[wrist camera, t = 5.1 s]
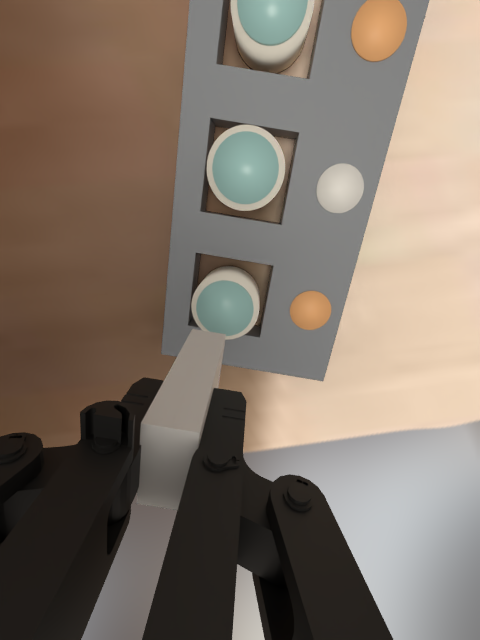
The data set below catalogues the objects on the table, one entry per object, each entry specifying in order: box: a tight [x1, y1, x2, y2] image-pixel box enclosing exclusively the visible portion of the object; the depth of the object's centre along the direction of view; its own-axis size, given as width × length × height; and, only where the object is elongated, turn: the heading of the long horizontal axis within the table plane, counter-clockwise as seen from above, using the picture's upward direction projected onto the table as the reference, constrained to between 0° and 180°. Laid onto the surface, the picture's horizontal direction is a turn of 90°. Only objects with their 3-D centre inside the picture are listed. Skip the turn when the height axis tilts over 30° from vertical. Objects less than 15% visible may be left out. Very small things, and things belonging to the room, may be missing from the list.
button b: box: [207, 125, 285, 211], centre depth 21 cm, size 5×5×4 cm
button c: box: [231, 0, 314, 73], centre depth 20 cm, size 5×5×4 cm
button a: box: [191, 266, 259, 340], centre depth 24 cm, size 5×5×4 cm
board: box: [161, 0, 429, 381], centre depth 24 cm, size 14×30×3 cm, turn 171°
